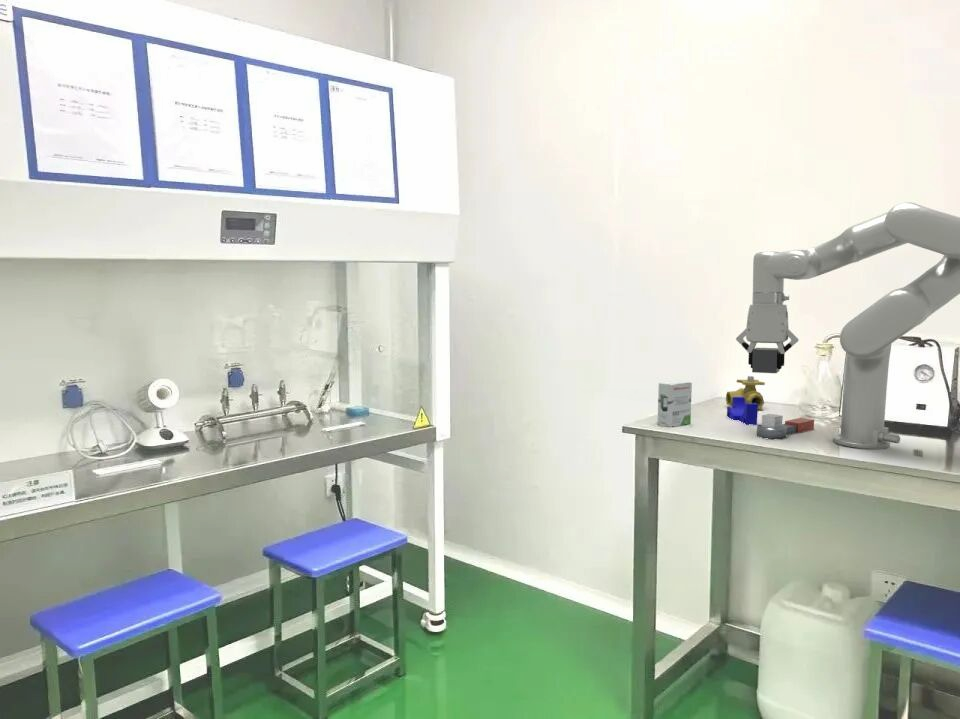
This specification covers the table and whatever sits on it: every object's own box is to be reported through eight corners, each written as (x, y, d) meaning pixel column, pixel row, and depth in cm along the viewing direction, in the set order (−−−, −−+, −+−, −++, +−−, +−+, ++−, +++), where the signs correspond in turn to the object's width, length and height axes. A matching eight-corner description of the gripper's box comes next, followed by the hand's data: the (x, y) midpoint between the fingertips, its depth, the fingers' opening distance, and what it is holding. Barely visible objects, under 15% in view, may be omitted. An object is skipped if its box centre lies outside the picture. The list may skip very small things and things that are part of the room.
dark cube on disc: (779, 370, 203) (780, 348, 202) (776, 373, 198) (777, 350, 197) (755, 369, 206) (756, 347, 205) (752, 372, 201) (752, 349, 200)
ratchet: (776, 440, 193) (777, 419, 192) (750, 435, 198) (751, 414, 198) (819, 430, 206) (821, 410, 205) (794, 425, 211) (795, 406, 211)
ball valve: (768, 411, 233) (769, 378, 232) (734, 411, 233) (736, 378, 232) (752, 404, 246) (753, 373, 245) (720, 404, 246) (721, 373, 244)
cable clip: (726, 417, 224) (727, 396, 223) (742, 417, 224) (743, 396, 223) (740, 425, 212) (741, 404, 211) (756, 425, 212) (757, 404, 211)
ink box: (677, 421, 217) (679, 379, 216) (691, 424, 213) (693, 381, 212) (656, 424, 212) (657, 382, 211) (670, 427, 208) (671, 384, 207)
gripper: (805, 299, 199) (803, 368, 201) (736, 299, 207) (734, 365, 209) (801, 299, 192) (799, 371, 194) (730, 299, 201) (729, 368, 203)
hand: (766, 367), depth 202 cm, fingers closed on dark cube on disc, 6 cm apart
